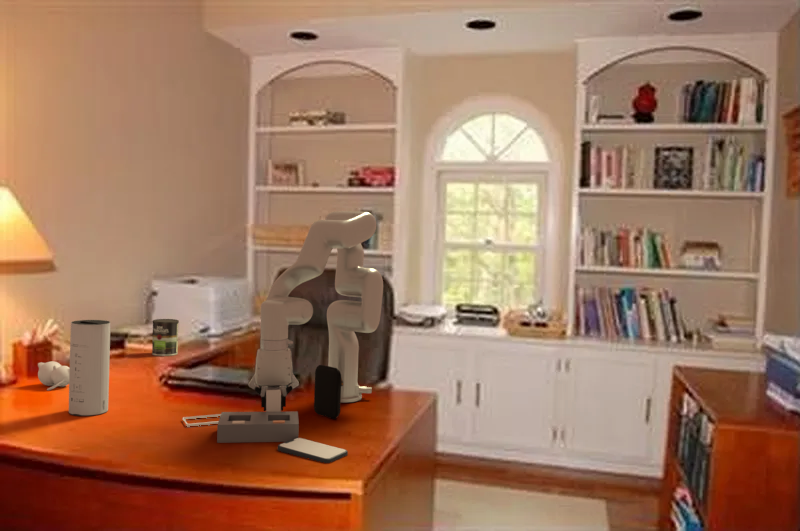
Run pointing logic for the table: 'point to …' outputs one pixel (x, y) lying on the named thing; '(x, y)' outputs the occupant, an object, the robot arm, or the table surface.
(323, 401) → the carrying case or bag
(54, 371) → the cat figurine
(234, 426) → the hub
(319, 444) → the phone case
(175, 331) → the coffee can
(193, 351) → the table surface
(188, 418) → the phone case
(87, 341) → the speaker
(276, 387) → the plug
